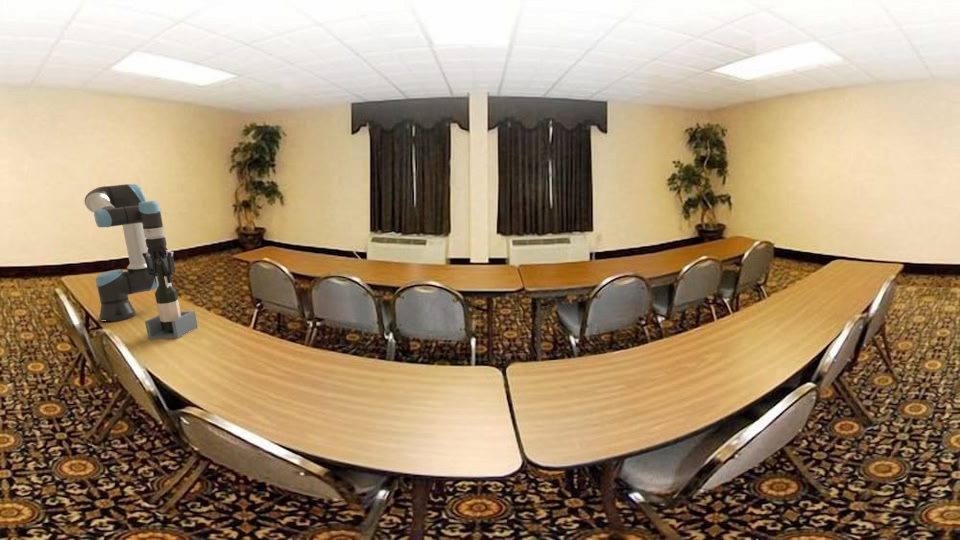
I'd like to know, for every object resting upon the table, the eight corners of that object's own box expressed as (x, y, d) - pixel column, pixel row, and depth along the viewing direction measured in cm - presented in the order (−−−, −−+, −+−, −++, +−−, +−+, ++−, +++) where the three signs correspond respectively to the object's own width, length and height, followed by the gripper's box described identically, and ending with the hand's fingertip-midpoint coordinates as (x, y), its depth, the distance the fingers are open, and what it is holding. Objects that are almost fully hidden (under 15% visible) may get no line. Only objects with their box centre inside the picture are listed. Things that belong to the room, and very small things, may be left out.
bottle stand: (169, 328, 253) (166, 311, 251) (197, 327, 251) (194, 310, 249) (148, 338, 239) (144, 321, 237) (178, 338, 237) (174, 321, 236)
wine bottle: (173, 331, 240) (161, 264, 233) (157, 331, 241) (144, 264, 234) (187, 325, 248) (175, 260, 241) (171, 324, 249) (158, 260, 242)
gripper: (131, 239, 232) (142, 292, 238) (167, 238, 230) (177, 292, 236) (143, 236, 240) (154, 288, 245) (178, 235, 238) (188, 287, 243)
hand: (165, 290), depth 240 cm, fingers closed on wine bottle, 3 cm apart
